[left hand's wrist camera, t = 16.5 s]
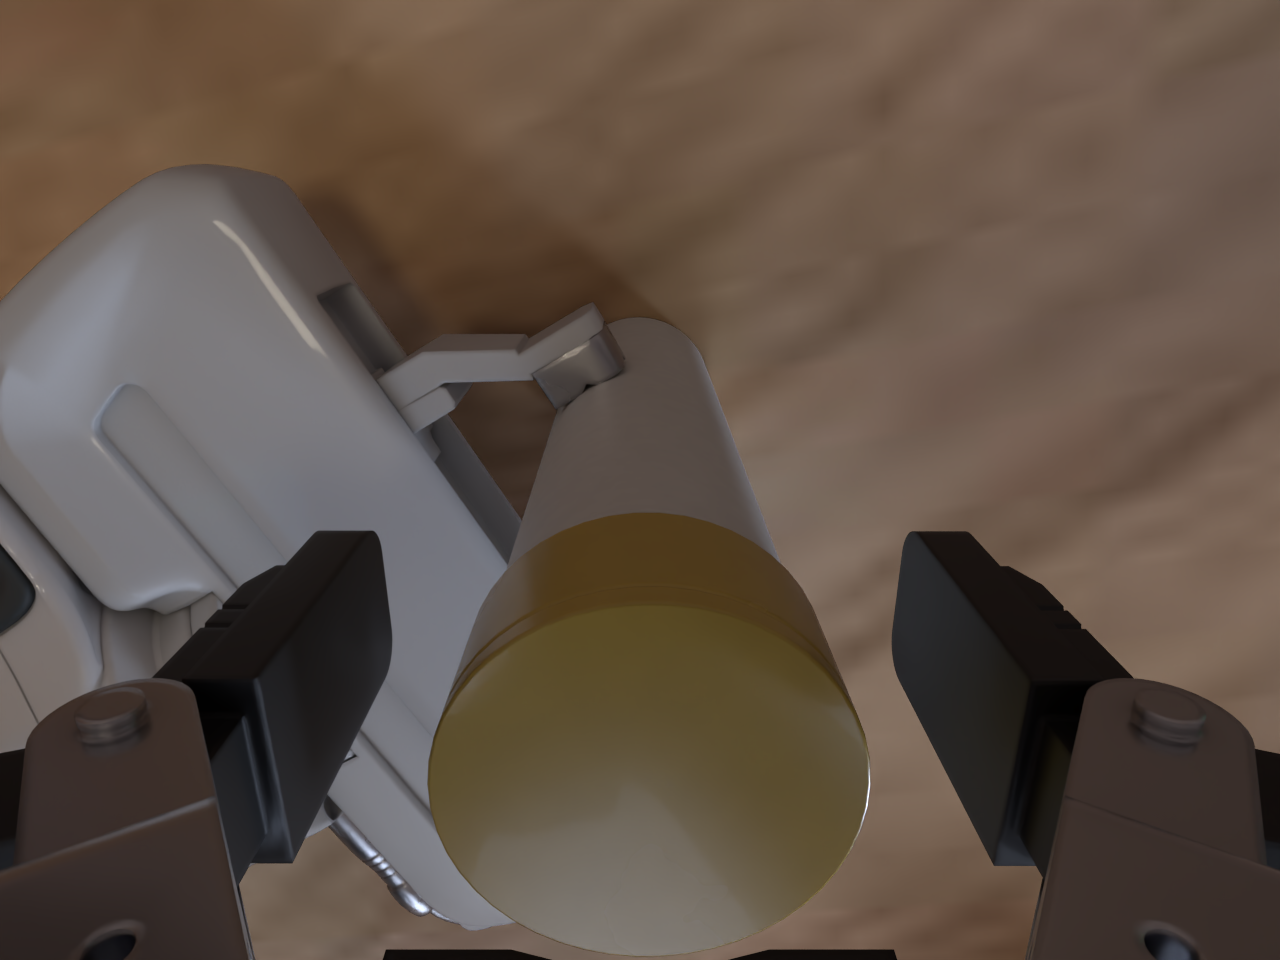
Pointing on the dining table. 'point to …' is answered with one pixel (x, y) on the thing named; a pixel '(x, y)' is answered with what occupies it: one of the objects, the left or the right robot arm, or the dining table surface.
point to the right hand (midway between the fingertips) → (672, 437)
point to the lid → (647, 741)
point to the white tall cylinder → (643, 446)
